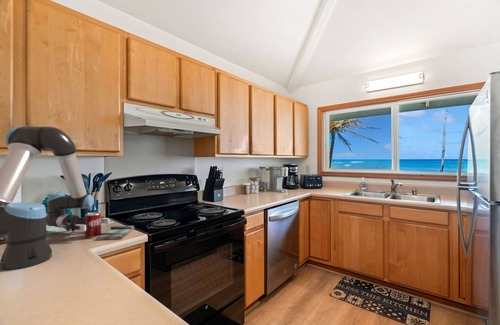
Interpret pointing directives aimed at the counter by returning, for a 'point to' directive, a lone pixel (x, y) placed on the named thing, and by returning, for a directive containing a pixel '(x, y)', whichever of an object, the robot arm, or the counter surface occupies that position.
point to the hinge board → (115, 233)
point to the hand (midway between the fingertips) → (97, 224)
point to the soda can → (92, 225)
